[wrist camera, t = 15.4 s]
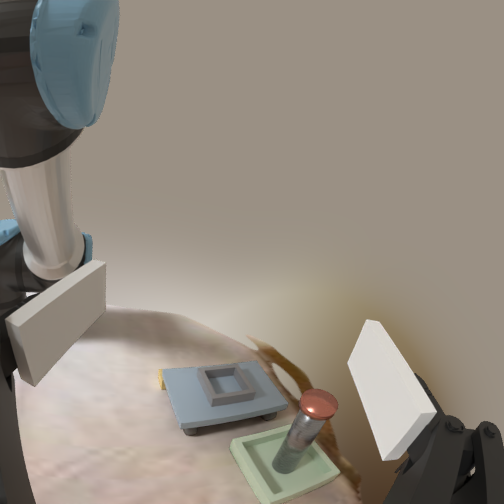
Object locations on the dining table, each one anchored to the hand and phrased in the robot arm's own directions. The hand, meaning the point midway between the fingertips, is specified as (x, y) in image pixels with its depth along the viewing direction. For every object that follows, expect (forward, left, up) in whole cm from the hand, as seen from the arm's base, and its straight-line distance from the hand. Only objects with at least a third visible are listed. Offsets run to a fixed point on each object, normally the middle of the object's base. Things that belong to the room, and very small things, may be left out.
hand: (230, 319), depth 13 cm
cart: (-21, +12, -32) cm, 41 cm away
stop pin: (-5, +16, -31) cm, 35 cm away
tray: (-5, +16, -32) cm, 36 cm away
